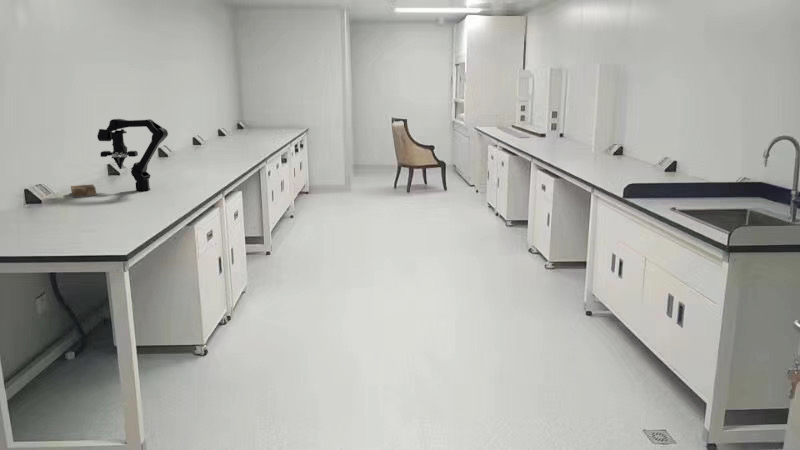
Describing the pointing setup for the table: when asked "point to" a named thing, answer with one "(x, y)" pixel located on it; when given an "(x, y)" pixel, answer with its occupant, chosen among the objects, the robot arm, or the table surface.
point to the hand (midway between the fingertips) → (120, 168)
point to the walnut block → (83, 190)
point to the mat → (80, 196)
